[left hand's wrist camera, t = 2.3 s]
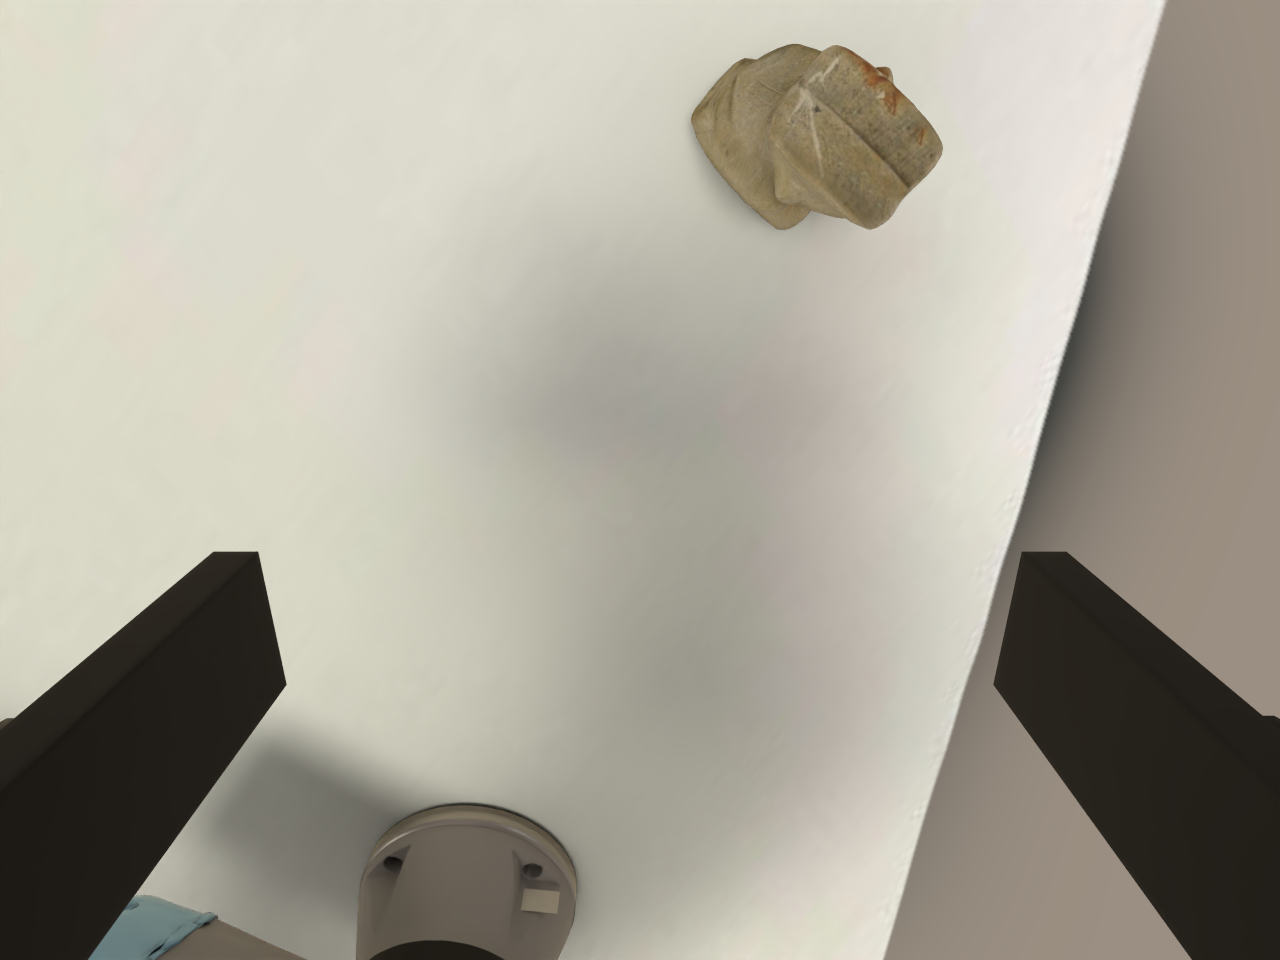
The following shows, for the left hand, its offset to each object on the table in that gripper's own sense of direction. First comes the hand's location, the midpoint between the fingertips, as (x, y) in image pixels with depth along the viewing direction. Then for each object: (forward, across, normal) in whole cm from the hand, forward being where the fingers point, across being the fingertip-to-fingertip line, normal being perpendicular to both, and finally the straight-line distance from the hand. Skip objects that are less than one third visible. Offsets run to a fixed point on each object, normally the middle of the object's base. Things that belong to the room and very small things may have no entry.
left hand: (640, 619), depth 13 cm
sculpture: (+28, -6, -9) cm, 30 cm away
